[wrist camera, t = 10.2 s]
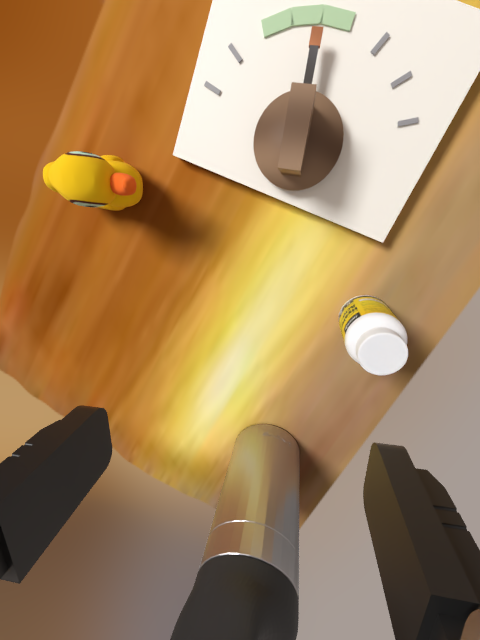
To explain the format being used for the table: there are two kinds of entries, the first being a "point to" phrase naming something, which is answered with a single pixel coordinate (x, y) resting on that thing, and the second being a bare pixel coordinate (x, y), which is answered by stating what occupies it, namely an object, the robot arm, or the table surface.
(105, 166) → the duckling
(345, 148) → the dial board
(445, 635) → the robot arm
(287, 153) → the knob
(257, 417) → the table surface
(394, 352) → the supplement bottle
